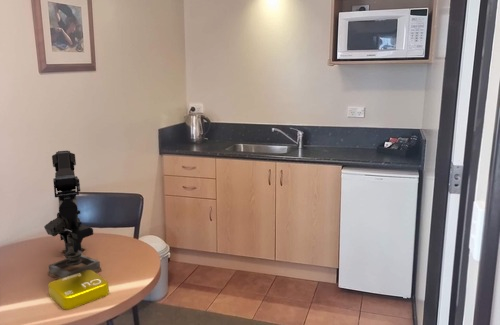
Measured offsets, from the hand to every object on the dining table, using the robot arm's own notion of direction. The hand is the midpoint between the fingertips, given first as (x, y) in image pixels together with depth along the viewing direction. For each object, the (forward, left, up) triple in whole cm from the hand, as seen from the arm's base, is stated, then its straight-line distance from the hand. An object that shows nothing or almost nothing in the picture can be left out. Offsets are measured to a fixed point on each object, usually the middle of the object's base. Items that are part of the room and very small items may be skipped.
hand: (72, 250), depth 158 cm
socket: (0, 0, -9) cm, 9 cm away
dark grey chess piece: (0, 0, -5) cm, 5 cm away
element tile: (+15, -8, -9) cm, 19 cm away
